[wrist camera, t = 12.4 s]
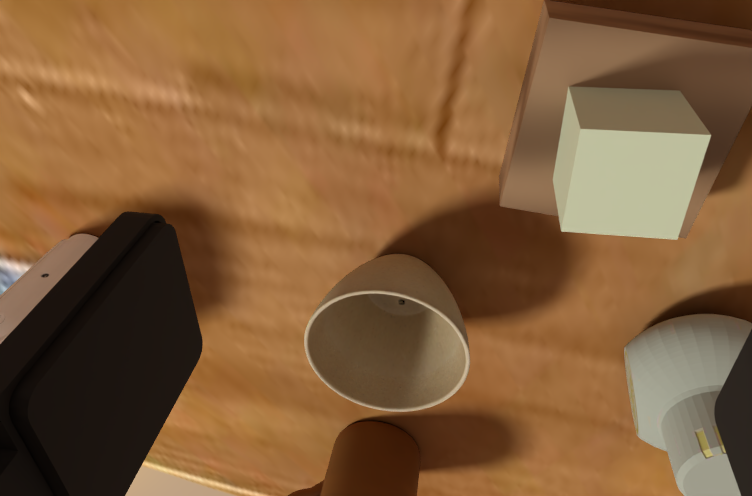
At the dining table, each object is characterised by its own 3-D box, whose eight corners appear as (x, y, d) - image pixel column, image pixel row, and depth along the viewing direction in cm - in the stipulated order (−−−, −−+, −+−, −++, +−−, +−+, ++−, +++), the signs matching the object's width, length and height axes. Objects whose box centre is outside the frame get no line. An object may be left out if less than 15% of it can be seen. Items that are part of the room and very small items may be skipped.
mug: (307, 476, 56) (278, 577, 49) (277, 423, 53) (240, 524, 45) (431, 471, 53) (420, 579, 45) (408, 413, 49) (392, 521, 41)
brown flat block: (543, -3, 30) (549, 17, 27) (747, 27, 29) (778, 52, 26) (499, 172, 36) (499, 206, 33) (668, 200, 35) (686, 238, 32)
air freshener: (616, 300, 39) (648, 422, 31) (759, 283, 37) (833, 410, 29) (629, 412, 45) (659, 539, 37) (753, 403, 42) (814, 538, 34)
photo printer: (57, 228, 44) (-73, 346, 34) (112, 233, 43) (-4, 355, 33) (95, 332, 50) (-5, 459, 40) (144, 338, 49) (54, 468, 39)
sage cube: (568, 86, 28) (580, 128, 24) (679, 90, 28) (711, 135, 24) (552, 179, 31) (561, 231, 27) (653, 185, 31) (677, 239, 27)
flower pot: (347, 203, 38) (321, 269, 33) (495, 249, 39) (495, 323, 33) (317, 312, 44) (291, 385, 39) (446, 352, 44) (439, 430, 39)
